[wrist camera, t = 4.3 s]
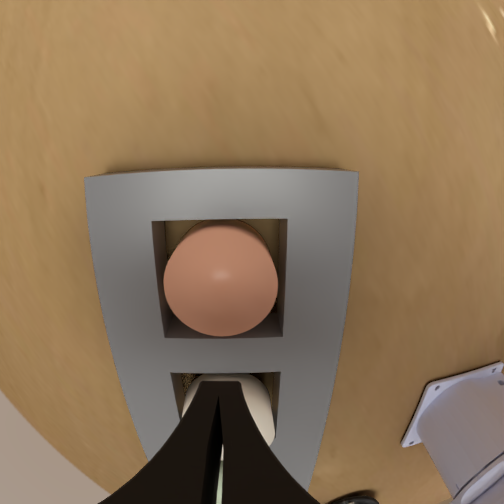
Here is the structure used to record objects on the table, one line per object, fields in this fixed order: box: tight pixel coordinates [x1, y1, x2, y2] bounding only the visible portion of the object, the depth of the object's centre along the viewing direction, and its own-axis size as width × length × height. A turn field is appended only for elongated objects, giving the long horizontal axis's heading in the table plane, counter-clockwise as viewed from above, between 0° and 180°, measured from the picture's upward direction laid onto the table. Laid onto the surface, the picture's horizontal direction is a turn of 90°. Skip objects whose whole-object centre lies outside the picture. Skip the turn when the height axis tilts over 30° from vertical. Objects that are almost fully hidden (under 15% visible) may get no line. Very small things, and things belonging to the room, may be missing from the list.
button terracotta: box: [163, 219, 278, 336], centre depth 15 cm, size 5×5×3 cm
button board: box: [84, 166, 359, 491], centre depth 18 cm, size 12×26×2 cm, turn 0°
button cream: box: [182, 373, 275, 460], centre depth 16 cm, size 5×5×3 cm
